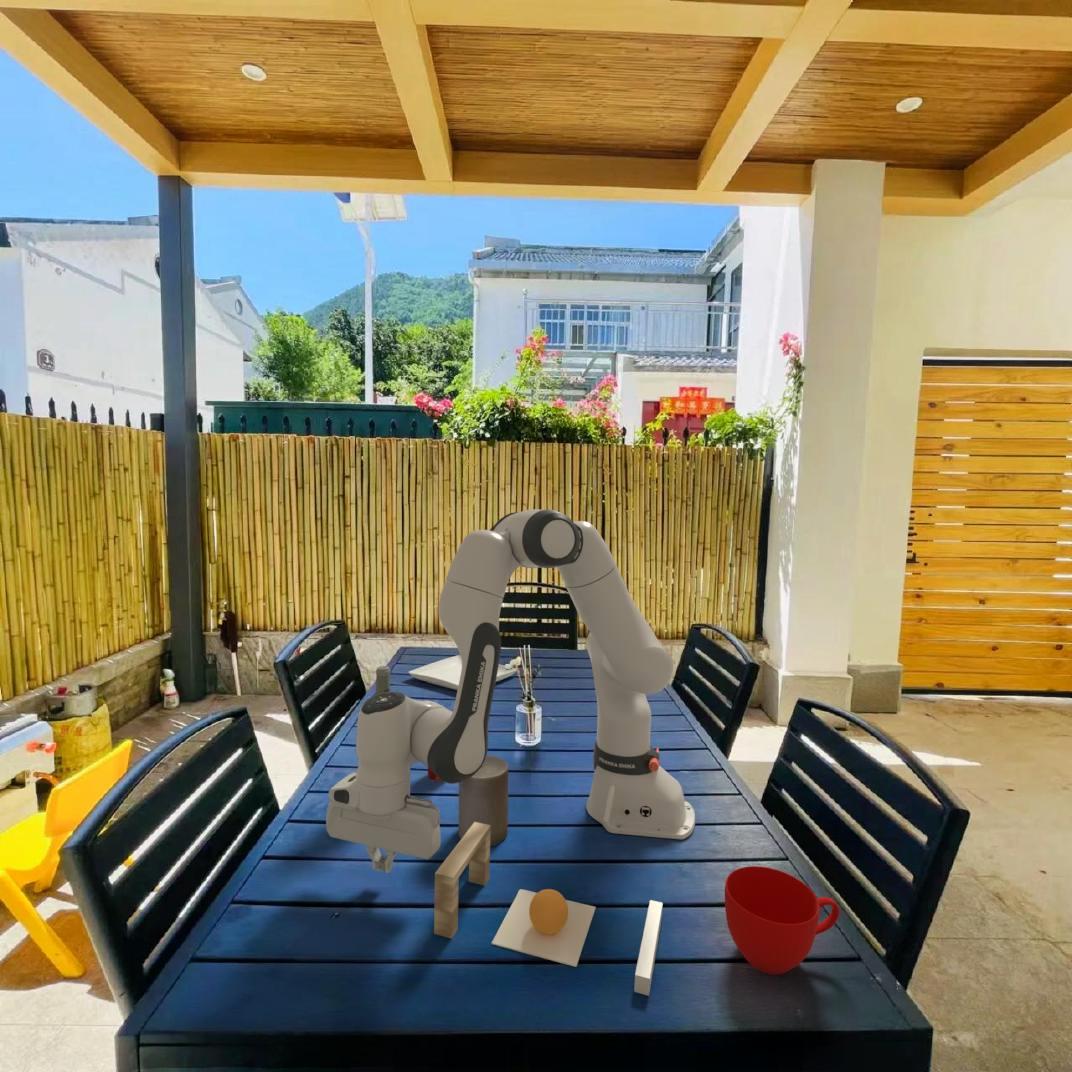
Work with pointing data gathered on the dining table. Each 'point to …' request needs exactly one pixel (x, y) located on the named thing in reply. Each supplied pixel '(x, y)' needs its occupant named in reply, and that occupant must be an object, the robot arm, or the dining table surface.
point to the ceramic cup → (773, 917)
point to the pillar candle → (486, 799)
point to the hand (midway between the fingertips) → (382, 869)
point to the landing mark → (553, 947)
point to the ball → (548, 911)
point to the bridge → (447, 876)
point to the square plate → (450, 672)
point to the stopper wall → (648, 948)
